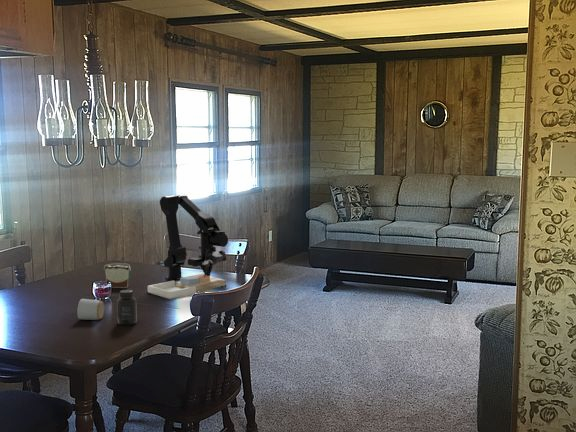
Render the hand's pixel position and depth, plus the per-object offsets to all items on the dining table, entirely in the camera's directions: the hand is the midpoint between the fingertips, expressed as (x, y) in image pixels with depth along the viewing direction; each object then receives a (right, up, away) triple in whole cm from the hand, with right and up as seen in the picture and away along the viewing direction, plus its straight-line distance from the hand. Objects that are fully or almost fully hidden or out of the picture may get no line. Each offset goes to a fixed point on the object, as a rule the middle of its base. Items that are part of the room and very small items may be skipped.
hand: (207, 278), depth 293 cm
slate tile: (-7, -2, -7) cm, 10 cm away
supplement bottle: (-22, -11, -58) cm, 63 cm away
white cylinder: (-37, -10, -52) cm, 65 cm away
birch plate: (-3, -4, -2) cm, 5 cm away
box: (-14, -5, -14) cm, 20 cm away
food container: (-39, -4, -2) cm, 40 cm away
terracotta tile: (-3, -1, -3) cm, 4 cm away
